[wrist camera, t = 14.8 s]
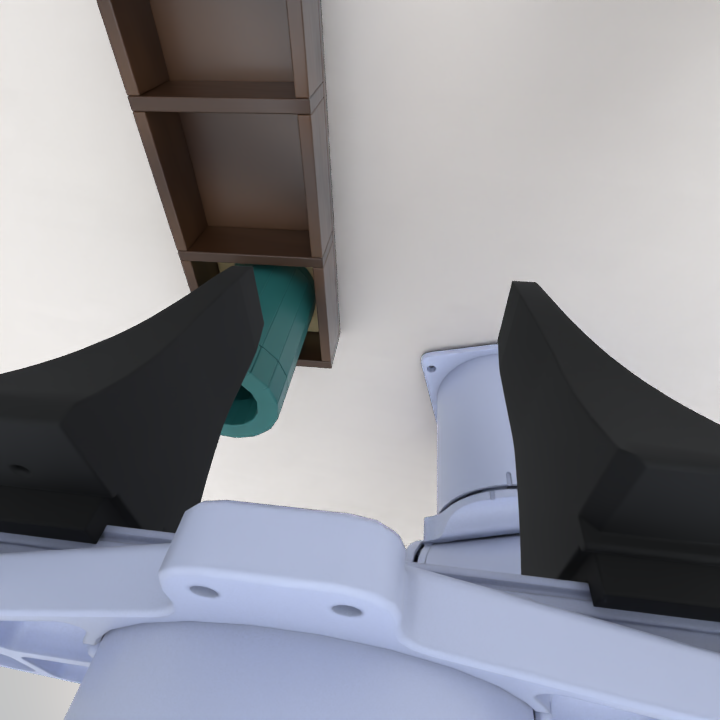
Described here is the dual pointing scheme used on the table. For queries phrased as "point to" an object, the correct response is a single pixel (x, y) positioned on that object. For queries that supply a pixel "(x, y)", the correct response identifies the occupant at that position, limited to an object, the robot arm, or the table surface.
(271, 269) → the jar
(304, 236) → the rack
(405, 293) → the table surface
